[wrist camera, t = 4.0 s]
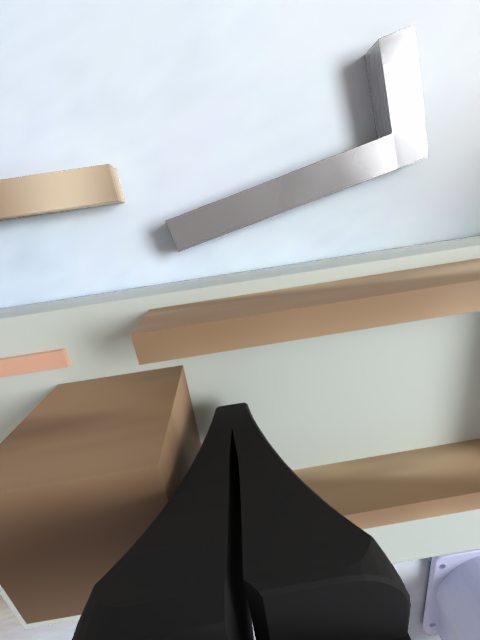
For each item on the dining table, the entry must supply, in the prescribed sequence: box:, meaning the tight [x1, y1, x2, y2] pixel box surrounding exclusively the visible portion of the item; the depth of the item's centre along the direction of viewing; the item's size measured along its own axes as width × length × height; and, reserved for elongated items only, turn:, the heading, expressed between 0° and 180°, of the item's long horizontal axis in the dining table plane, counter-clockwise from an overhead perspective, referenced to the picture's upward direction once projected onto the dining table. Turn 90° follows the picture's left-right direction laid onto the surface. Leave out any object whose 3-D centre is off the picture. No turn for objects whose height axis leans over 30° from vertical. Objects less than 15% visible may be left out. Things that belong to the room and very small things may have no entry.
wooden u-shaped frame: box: [131, 258, 480, 529], centre depth 11 cm, size 10×16×2 cm, turn 98°
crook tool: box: [166, 25, 429, 252], centre depth 11 cm, size 10×4×1 cm, turn 110°
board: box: [0, 236, 480, 629], centre depth 14 cm, size 18×28×2 cm, turn 98°
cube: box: [0, 365, 201, 624], centre depth 10 cm, size 5×5×5 cm
